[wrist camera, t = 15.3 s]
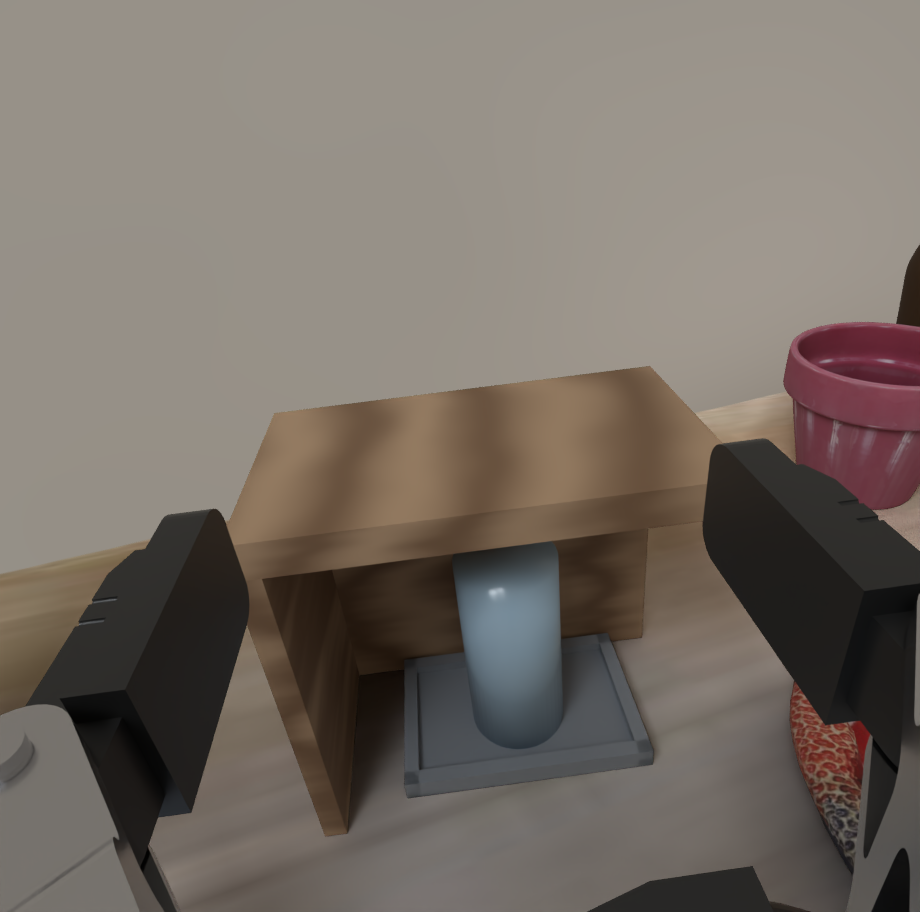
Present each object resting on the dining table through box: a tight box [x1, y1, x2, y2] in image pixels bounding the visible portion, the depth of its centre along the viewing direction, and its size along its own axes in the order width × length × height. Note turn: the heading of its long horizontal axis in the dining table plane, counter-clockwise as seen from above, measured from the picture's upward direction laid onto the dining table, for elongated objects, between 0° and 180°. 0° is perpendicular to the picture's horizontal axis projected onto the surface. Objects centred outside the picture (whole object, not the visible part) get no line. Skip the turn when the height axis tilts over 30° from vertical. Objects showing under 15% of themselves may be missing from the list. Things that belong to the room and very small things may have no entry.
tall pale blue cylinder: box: [452, 541, 563, 749], centre depth 36 cm, size 6×6×12 cm
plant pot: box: [783, 322, 920, 510], centre depth 54 cm, size 14×14×13 cm
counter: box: [227, 366, 723, 836], centre depth 34 cm, size 21×12×20 cm, turn 95°
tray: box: [404, 633, 654, 798], centre depth 39 cm, size 14×9×1 cm, turn 95°
